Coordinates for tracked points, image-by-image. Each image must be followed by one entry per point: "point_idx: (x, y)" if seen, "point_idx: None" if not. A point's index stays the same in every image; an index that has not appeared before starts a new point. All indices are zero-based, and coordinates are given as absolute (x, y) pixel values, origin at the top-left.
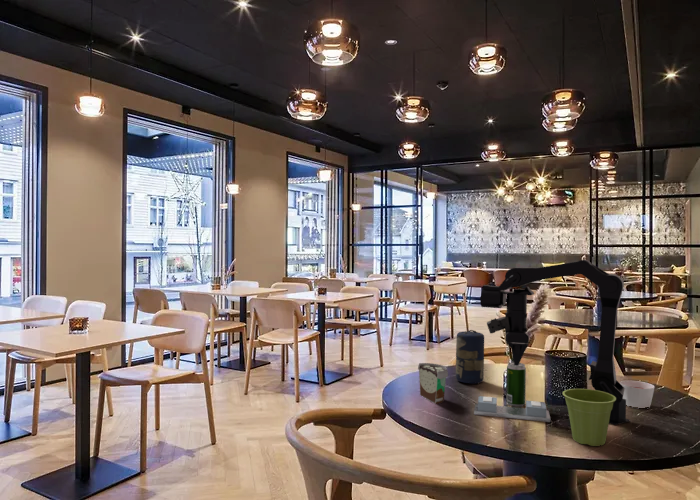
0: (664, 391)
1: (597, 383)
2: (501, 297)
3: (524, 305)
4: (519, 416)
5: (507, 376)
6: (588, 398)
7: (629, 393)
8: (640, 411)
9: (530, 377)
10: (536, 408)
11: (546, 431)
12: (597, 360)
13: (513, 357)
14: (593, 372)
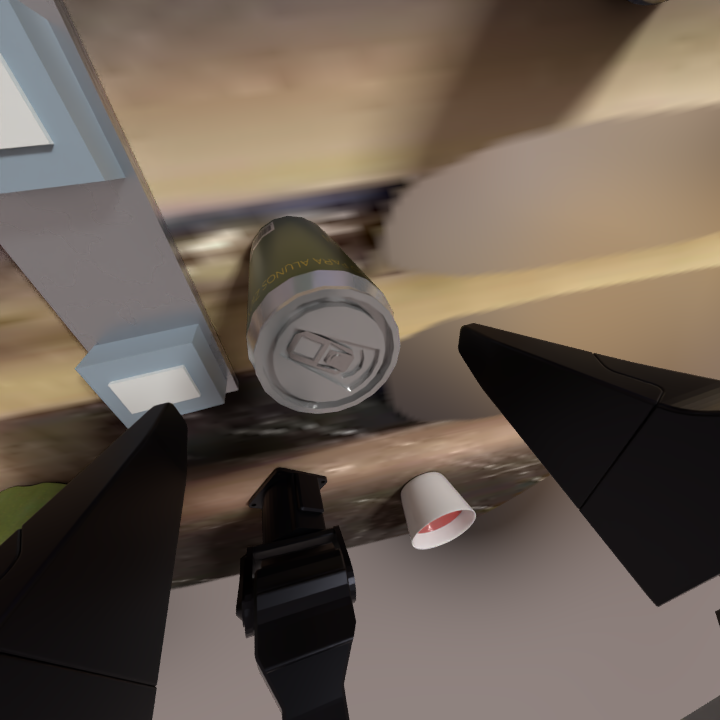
0: (517, 487)
1: (242, 602)
2: None
3: None
4: (65, 317)
5: (275, 259)
6: None
7: (414, 513)
8: (383, 498)
9: (654, 252)
10: (105, 398)
11: (9, 420)
12: (280, 703)
13: (74, 482)
14: (257, 638)
